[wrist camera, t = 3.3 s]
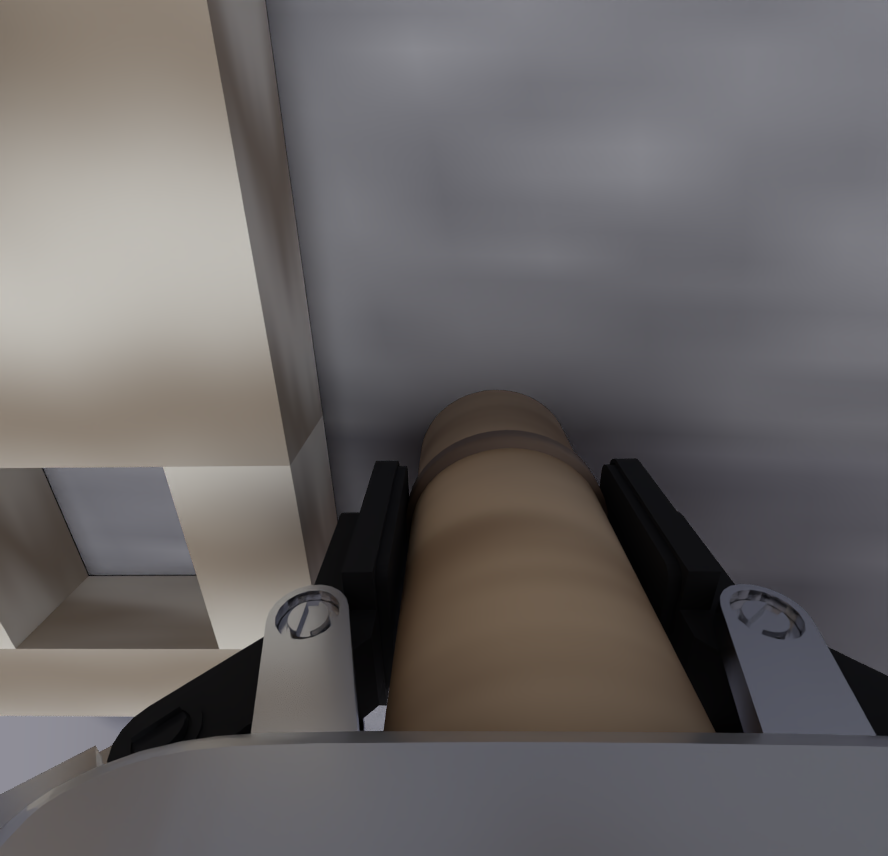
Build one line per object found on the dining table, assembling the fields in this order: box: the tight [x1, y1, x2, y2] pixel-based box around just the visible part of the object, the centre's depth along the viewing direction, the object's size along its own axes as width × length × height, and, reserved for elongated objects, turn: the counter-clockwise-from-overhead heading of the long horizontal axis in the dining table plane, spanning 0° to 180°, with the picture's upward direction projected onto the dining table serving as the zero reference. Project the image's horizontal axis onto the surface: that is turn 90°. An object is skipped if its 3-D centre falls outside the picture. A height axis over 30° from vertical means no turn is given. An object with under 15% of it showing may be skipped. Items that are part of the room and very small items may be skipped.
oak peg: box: [384, 390, 716, 733], centre depth 9 cm, size 5×5×12 cm
